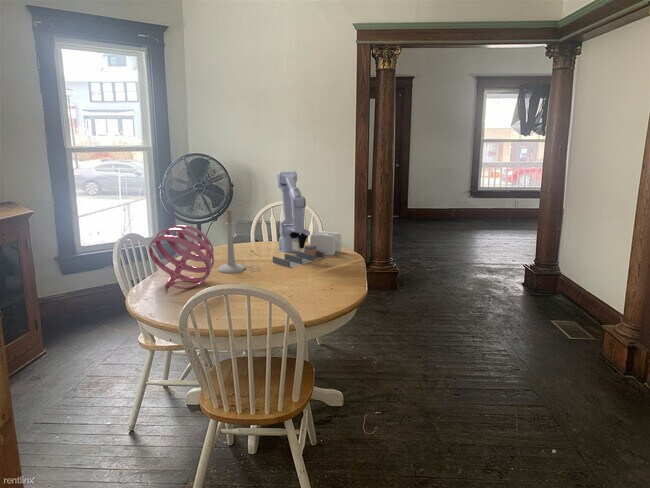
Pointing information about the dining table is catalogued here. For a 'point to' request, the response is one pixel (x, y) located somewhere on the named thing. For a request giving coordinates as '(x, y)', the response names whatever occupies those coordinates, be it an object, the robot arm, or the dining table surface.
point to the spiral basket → (184, 254)
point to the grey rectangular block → (296, 245)
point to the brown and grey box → (310, 250)
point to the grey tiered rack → (298, 258)
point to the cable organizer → (326, 242)
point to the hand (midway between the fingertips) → (298, 247)
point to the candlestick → (230, 251)
